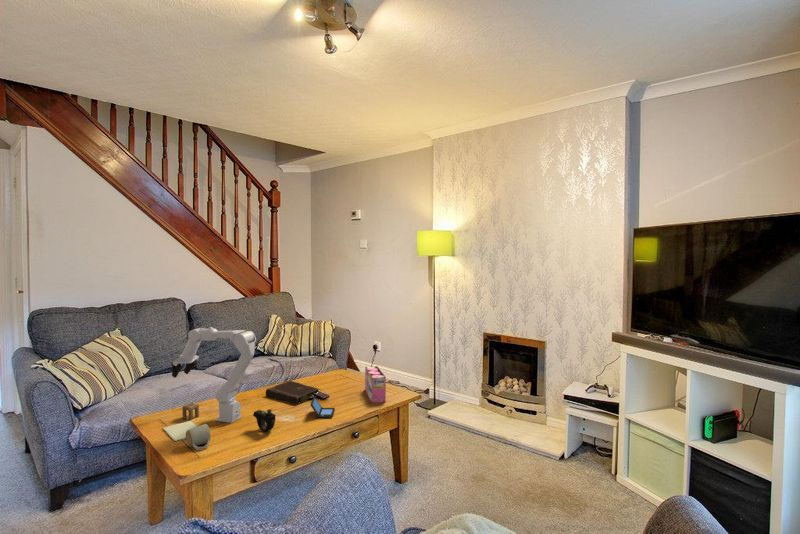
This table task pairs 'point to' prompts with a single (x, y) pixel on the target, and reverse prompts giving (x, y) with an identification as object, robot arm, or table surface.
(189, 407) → the stool
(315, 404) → the handheld game console
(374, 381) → the gum box
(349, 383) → the table surface
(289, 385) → the black media player box
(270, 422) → the controller
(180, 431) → the mat
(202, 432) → the ceramic mug
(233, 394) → the robot arm
